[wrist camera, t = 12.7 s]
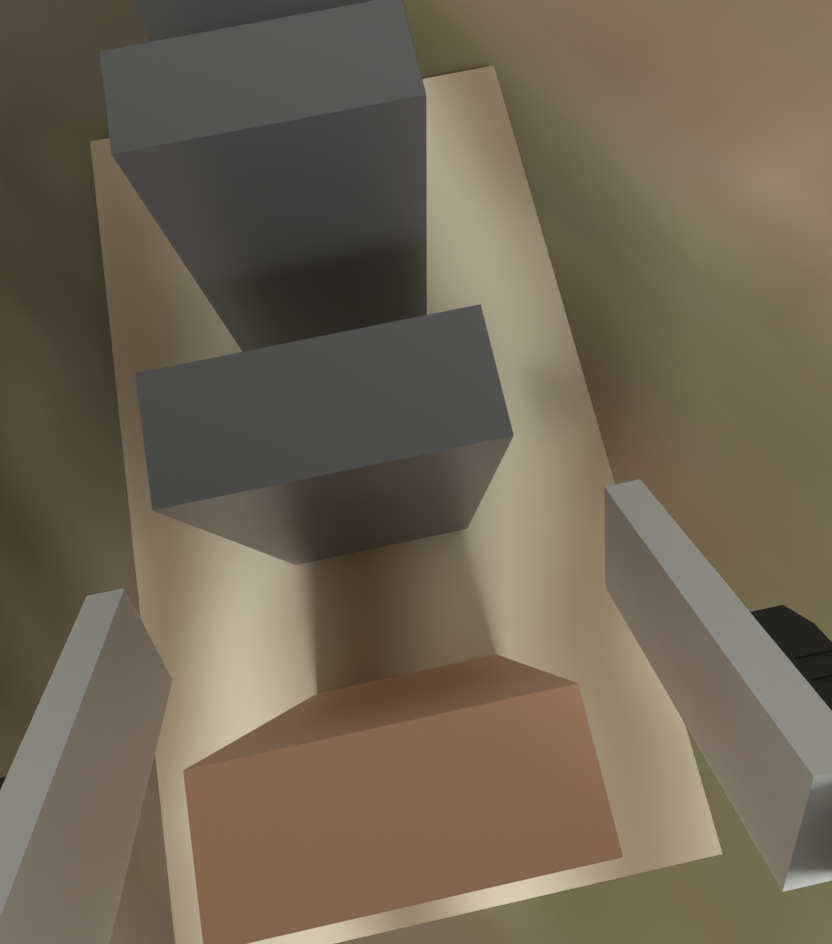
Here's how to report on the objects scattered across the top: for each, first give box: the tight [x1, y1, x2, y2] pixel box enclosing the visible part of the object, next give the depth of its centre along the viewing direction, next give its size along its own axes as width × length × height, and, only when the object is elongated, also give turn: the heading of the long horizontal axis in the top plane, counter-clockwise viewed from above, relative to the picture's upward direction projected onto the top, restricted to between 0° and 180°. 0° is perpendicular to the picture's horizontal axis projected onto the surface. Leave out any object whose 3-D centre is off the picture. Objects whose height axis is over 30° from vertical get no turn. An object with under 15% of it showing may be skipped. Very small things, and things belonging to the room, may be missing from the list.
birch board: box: [90, 66, 722, 944], centre depth 20 cm, size 14×25×1 cm, turn 12°
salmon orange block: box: [183, 654, 623, 944], centre depth 13 cm, size 2×5×10 cm, turn 102°
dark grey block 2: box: [135, 304, 514, 565], centre depth 14 cm, size 2×5×10 cm, turn 102°
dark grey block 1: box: [132, 0, 375, 42], centre depth 17 cm, size 2×5×10 cm, turn 102°
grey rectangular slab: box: [99, 0, 427, 352], centre depth 15 cm, size 2×5×10 cm, turn 102°
